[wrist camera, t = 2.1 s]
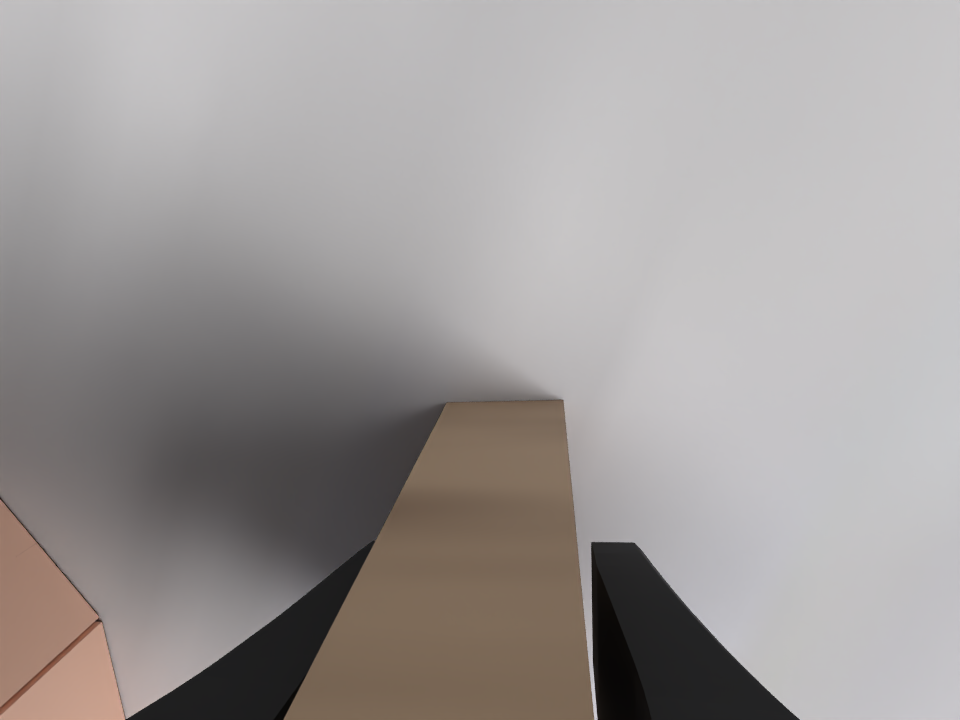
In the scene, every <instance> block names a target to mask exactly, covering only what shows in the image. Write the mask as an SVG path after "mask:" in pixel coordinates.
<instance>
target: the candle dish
mask: <svg viewBox="0 0 960 720" xmlns="http://www.w3.org/2000/svg"><path fill="white" fill-rule="evenodd" d="M98 618H99V616H98V615H97V614H96V613H95V611H94V610H93V609H92V608H91V607H90V605H89V604H88V603H87V602H86V601H85V600H84V598H83V597H82V596H81V595H80V594H79V592H78V591H77V590H76V589H75V588H74V586H73V585H72V584H71V583H70V582H69V580H68V579H67V578H66V577H65V576H64V575H63V573H62V572H61V571H60V570H59V569H58V567H57V566H56V565H55V564H54V563H53V561H52V560H51V559H50V558H49V557H48V555H47V554H46V553H45V552H44V551H43V550H42V548H41V547H40V546H39V545H38V544H37V542H36V541H35V540H34V539H33V538H32V536H31V535H30V534H29V533H28V532H27V530H26V529H25V528H24V527H23V526H22V525H21V523H20V522H19V521H18V520H17V519H16V517H15V516H14V515H13V514H12V513H11V511H10V510H9V509H8V508H7V507H6V505H5V504H4V503H3V502H2V501H1V500H0V720H125V716H124V712H123V708H122V704H121V700H120V695H119V691H118V687H117V683H116V679H115V675H114V670H113V666H112V662H111V658H110V654H109V650H108V646H107V641H106V637H105V633H104V629H103V625H102V622H95V621H96V620H97V619H98Z"/></svg>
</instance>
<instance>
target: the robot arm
mask: <svg viewBox="0 0 960 720" xmlns="http://www.w3.org/2000/svg"><path fill="white" fill-rule="evenodd" d="M374 543H375V541H373V542H371V543H370V544H368V545H367V546H365V547H364V548H363V549H361V550H360V551H359V552H358V553H356V554H355V555H354V556H353V557H351V558H350V559H349V560H348V561H346V562H345V563H344V564H343V565H342V566H340V567H339V568H338V569H337V570H335V571H334V572H333V573H332V574H331V575H329V576H328V577H327V578H326V579H325V580H323V581H322V582H321V583H320V584H318V585H317V586H316V587H315V588H313V589H312V590H311V591H310V592H308V593H307V594H306V595H305V596H303V597H302V598H301V599H300V600H298V601H297V602H296V603H295V604H293V605H292V606H291V607H290V608H288V609H287V610H286V611H285V612H283V613H282V614H281V615H279V616H278V617H277V618H275V619H274V620H273V621H271V622H270V623H269V624H267V625H266V626H265V627H263V628H262V629H260V630H259V631H258V632H256V633H255V634H254V635H252V636H251V637H249V638H248V639H247V640H245V641H244V642H243V643H241V644H240V645H239V646H237V647H236V648H234V649H233V650H232V651H230V652H229V653H228V654H226V655H225V656H223V657H222V658H221V659H219V660H218V661H217V662H215V663H214V664H212V665H211V666H209V667H208V668H206V669H205V670H203V671H202V672H201V673H199V674H198V675H196V676H195V677H193V678H192V679H190V680H188V681H187V682H185V683H184V684H182V685H181V686H179V687H178V688H176V689H175V690H173V691H172V692H170V693H168V694H167V695H165V696H163V697H162V698H160V699H159V700H157V701H155V702H154V703H152V704H150V705H149V706H147V707H146V708H144V709H142V710H141V711H139V712H137V713H136V714H134V715H133V716H131V717H129V718H128V719H126V720H284V718H285V716H286V714H287V712H288V710H289V708H290V706H291V704H292V702H293V700H294V698H295V696H296V694H297V692H298V691H299V689H300V687H301V685H302V683H303V681H304V679H305V677H306V675H307V673H308V671H309V669H310V667H311V665H312V663H313V661H314V659H315V658H316V656H317V654H318V652H319V650H320V648H321V646H322V644H323V642H324V640H325V638H326V636H327V634H328V632H329V630H330V628H331V626H332V624H333V623H334V621H335V619H336V617H337V615H338V613H339V611H340V609H341V607H342V605H343V603H344V601H345V599H346V597H347V595H348V593H349V591H350V589H351V588H352V586H353V584H354V582H355V580H356V578H357V576H358V574H359V572H360V570H361V568H362V566H363V564H364V562H365V560H366V558H367V556H368V555H369V553H370V551H371V549H372V547H373V545H374ZM591 555H592V628H593V668H594V681H595V693H596V705H597V717H598V720H800V719H798V718H797V717H796V716H795V715H794V714H793V713H791V712H790V711H789V710H788V709H787V708H786V707H785V706H784V705H783V704H781V703H780V702H779V701H778V700H777V699H776V698H775V697H774V696H773V695H772V694H771V693H770V692H769V691H768V690H767V689H766V688H765V687H764V686H762V685H761V684H760V683H759V682H758V681H757V680H756V679H755V678H754V677H753V676H752V675H751V674H750V673H749V672H748V671H747V670H746V669H745V668H744V667H743V666H742V665H741V664H740V663H739V662H738V661H737V660H736V659H735V658H734V657H733V656H732V655H731V654H730V653H729V652H728V651H727V650H726V649H725V648H724V647H723V645H722V644H721V643H720V642H719V641H718V640H717V639H716V638H715V637H714V636H713V635H712V634H711V632H710V631H709V630H708V629H707V628H706V627H705V626H704V625H703V624H702V623H701V622H700V620H699V619H698V618H697V617H696V616H695V615H694V614H693V613H692V612H691V611H690V609H689V608H688V607H687V606H686V605H685V604H684V602H683V601H682V600H681V599H680V598H679V597H678V595H677V594H676V593H675V592H674V591H673V589H672V588H671V587H670V586H669V585H668V583H667V582H666V581H665V580H664V578H663V577H662V576H661V575H660V573H659V572H658V571H657V570H656V568H655V567H654V566H653V565H652V563H651V562H650V561H649V559H648V558H647V557H646V555H645V554H644V553H643V551H642V550H641V549H640V548H639V547H638V546H637V545H636V544H635V543H622V542H591Z"/></svg>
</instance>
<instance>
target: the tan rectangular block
mask: <svg viewBox="0 0 960 720" xmlns="http://www.w3.org/2000/svg"><path fill="white" fill-rule="evenodd" d="M284 720H594V713H593V703H592V692H591V682H590V672H589V661H588V651H587V641H586V630H585V620H584V609H583V599H582V589H581V578H580V568H579V557H578V547H577V537H576V526H575V516H574V506H573V495H572V485H571V474H570V464H569V454H568V443H567V433H566V423H565V412H564V402H563V400H537V401H490V402H447V403H446V405H445V407H444V409H443V411H442V413H441V415H440V417H439V418H438V420H437V422H436V424H435V426H434V428H433V430H432V432H431V434H430V436H429V438H428V440H427V442H426V444H425V446H424V448H423V450H422V452H421V453H420V455H419V457H418V459H417V461H416V463H415V465H414V467H413V469H412V471H411V473H410V475H409V477H408V479H407V481H406V483H405V485H404V486H403V488H402V490H401V492H400V494H399V496H398V498H397V500H396V502H395V504H394V506H393V508H392V510H391V512H390V514H389V516H388V518H387V520H386V521H385V523H384V525H383V527H382V529H381V531H380V533H379V535H378V537H377V539H376V541H375V543H374V545H373V547H372V549H371V551H370V553H369V555H368V556H367V558H366V560H365V562H364V564H363V566H362V568H361V570H360V572H359V574H358V576H357V578H356V580H355V582H354V584H353V586H352V588H351V589H350V591H349V593H348V595H347V597H346V599H345V601H344V603H343V605H342V607H341V609H340V611H339V613H338V615H337V617H336V619H335V621H334V623H333V624H332V626H331V628H330V630H329V632H328V634H327V636H326V638H325V640H324V642H323V644H322V646H321V648H320V650H319V652H318V654H317V656H316V658H315V659H314V661H313V663H312V665H311V667H310V669H309V671H308V673H307V675H306V677H305V679H304V681H303V683H302V685H301V687H300V689H299V691H298V692H297V694H296V696H295V698H294V700H293V702H292V704H291V706H290V708H289V710H288V712H287V714H286V716H285V718H284Z"/></svg>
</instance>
